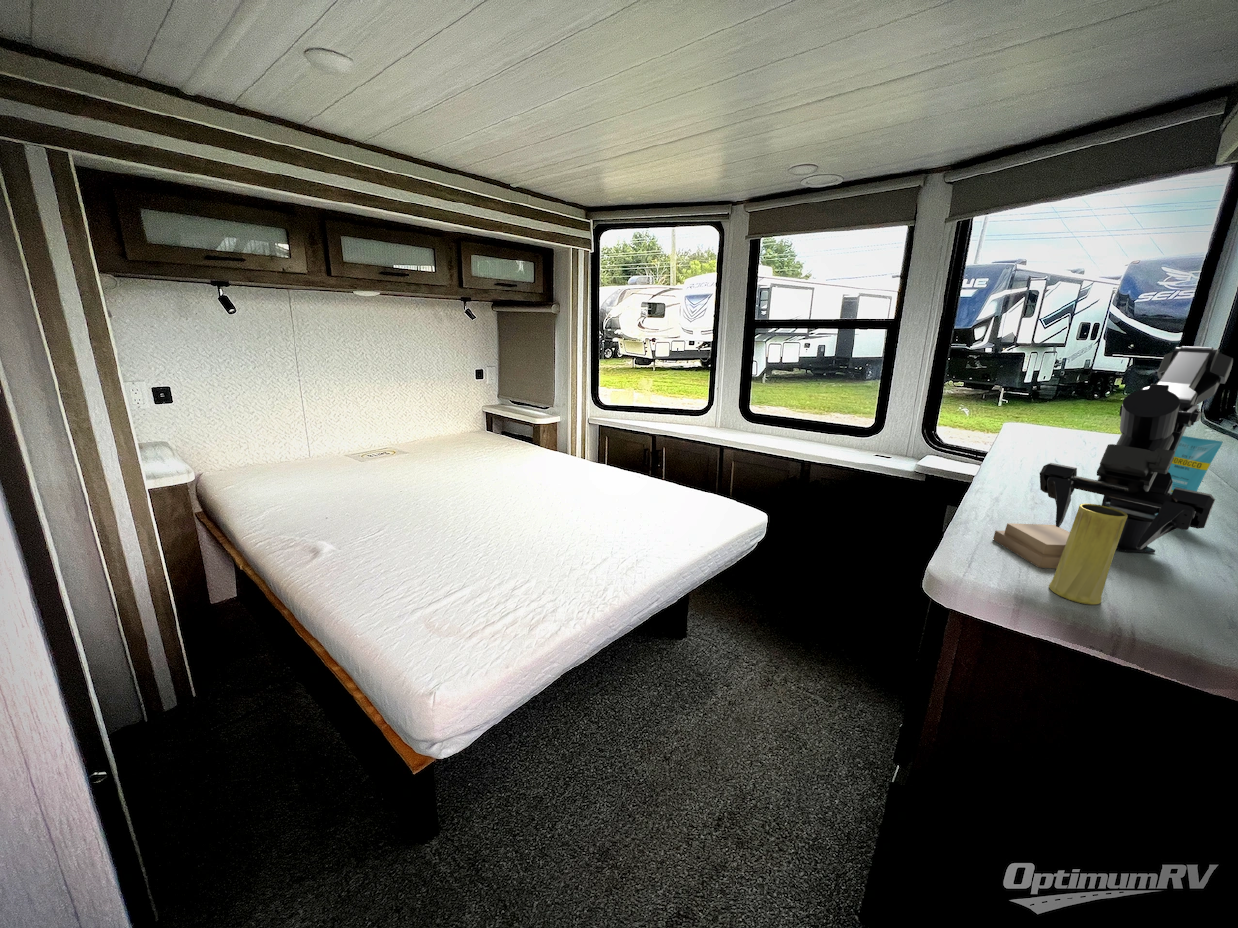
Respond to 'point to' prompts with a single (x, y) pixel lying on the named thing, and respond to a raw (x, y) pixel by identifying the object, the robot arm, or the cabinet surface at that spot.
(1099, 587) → the vase
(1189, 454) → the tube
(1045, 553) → the pedestal
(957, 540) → the cabinet surface
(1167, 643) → the cabinet surface
